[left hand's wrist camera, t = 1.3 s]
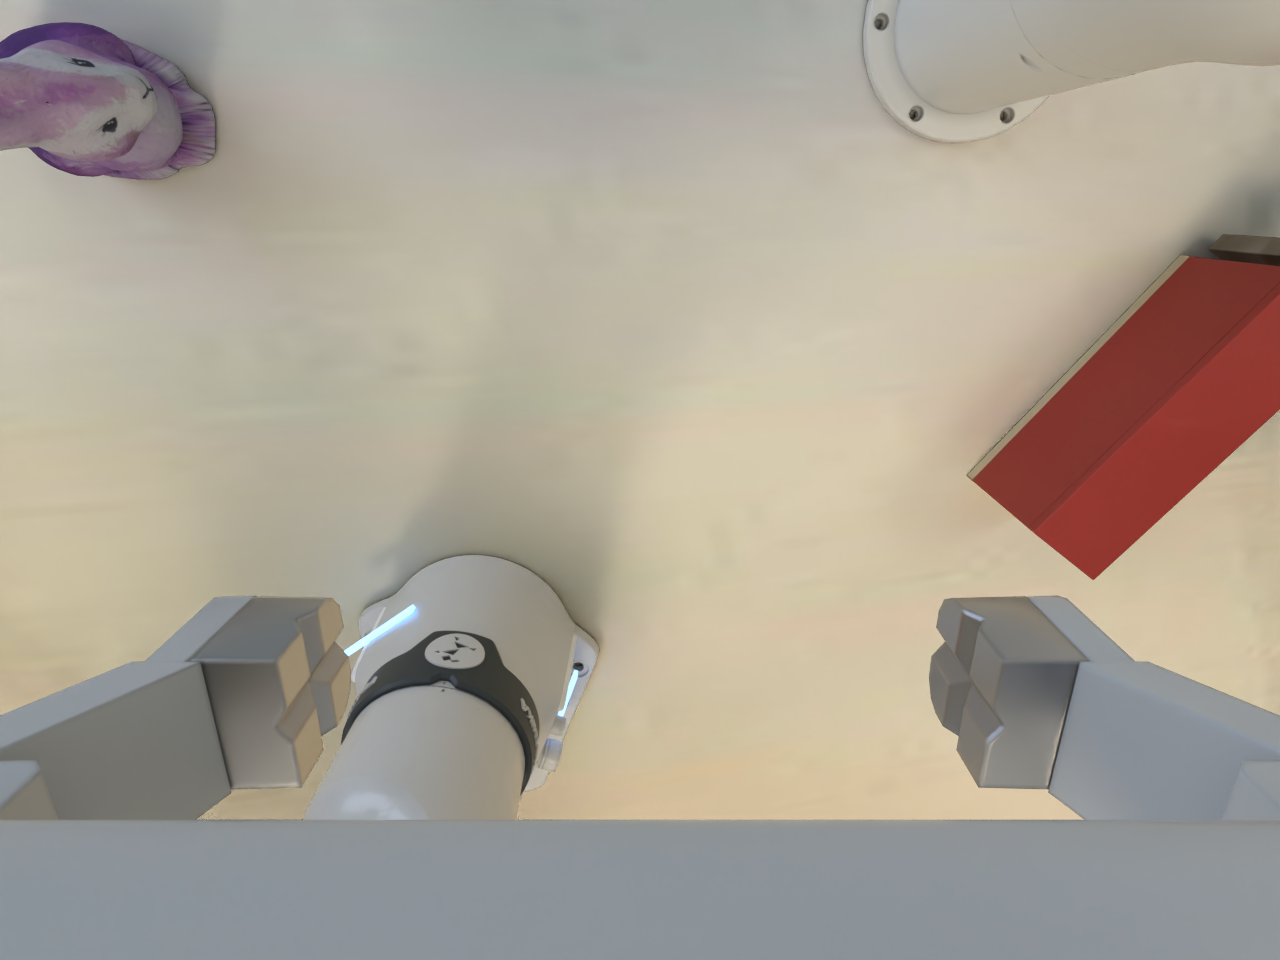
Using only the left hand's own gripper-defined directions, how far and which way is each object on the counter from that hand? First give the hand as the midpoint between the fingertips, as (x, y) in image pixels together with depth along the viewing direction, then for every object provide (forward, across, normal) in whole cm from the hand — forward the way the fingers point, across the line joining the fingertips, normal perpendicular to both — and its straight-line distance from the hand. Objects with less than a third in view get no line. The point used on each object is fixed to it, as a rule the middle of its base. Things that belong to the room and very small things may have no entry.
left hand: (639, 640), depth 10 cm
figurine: (+43, -30, +11) cm, 53 cm away
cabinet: (+43, +32, -7) cm, 54 cm away
